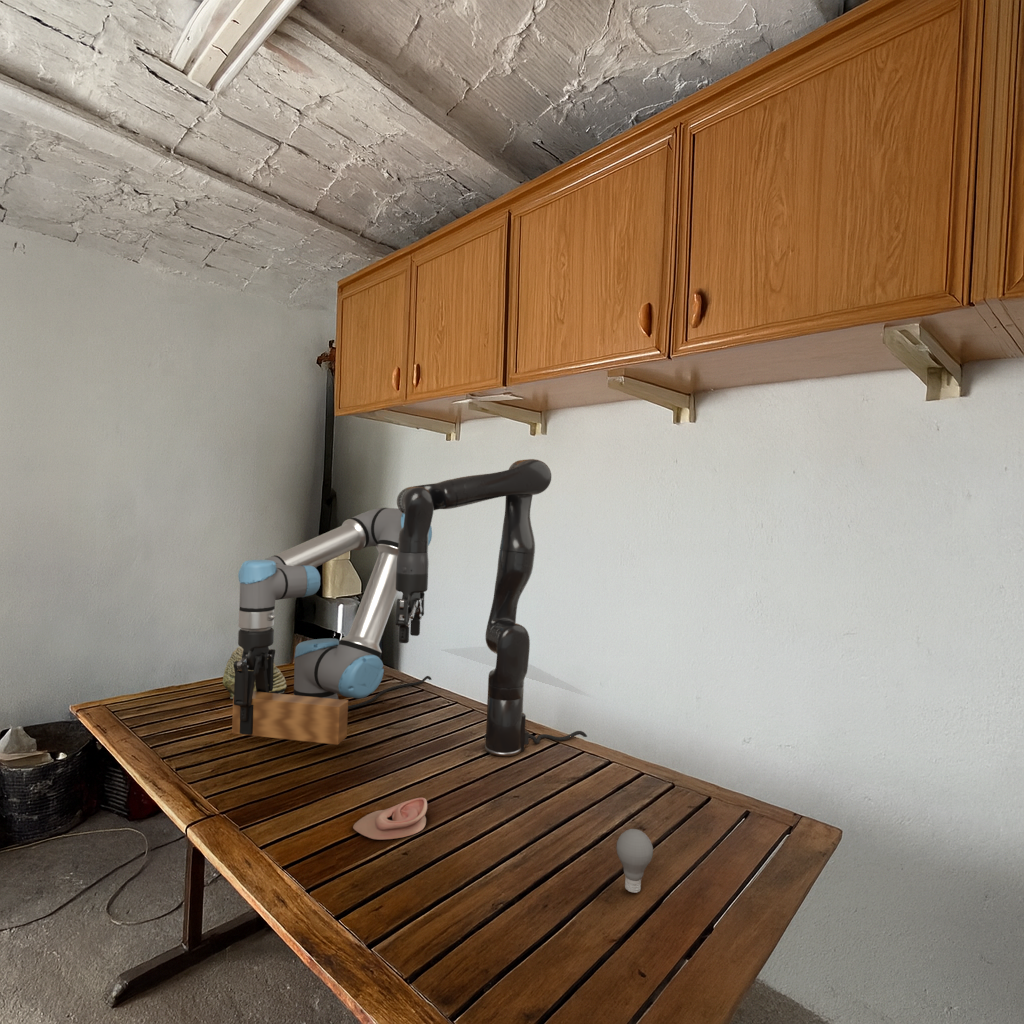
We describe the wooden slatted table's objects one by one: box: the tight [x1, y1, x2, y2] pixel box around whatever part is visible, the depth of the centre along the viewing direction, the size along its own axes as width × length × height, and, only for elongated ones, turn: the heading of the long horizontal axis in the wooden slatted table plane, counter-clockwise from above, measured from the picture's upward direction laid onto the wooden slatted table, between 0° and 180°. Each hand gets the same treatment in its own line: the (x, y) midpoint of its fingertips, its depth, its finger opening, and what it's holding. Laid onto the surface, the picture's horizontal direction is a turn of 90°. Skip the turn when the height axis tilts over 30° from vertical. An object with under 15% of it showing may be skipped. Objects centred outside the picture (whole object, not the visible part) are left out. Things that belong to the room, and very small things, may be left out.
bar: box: [231, 691, 349, 746], centre depth 144 cm, size 25×5×8 cm, turn 81°
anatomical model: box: [352, 797, 428, 841], centre depth 123 cm, size 13×4×12 cm
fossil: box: [222, 646, 288, 699], centre depth 198 cm, size 9×18×15 cm, turn 132°
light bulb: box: [615, 828, 654, 894], centre depth 106 cm, size 6×6×10 cm
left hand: (253, 728), depth 145 cm, fingers closed on bar, 5 cm apart
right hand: (409, 639), depth 150 cm, fingers open, 8 cm apart
